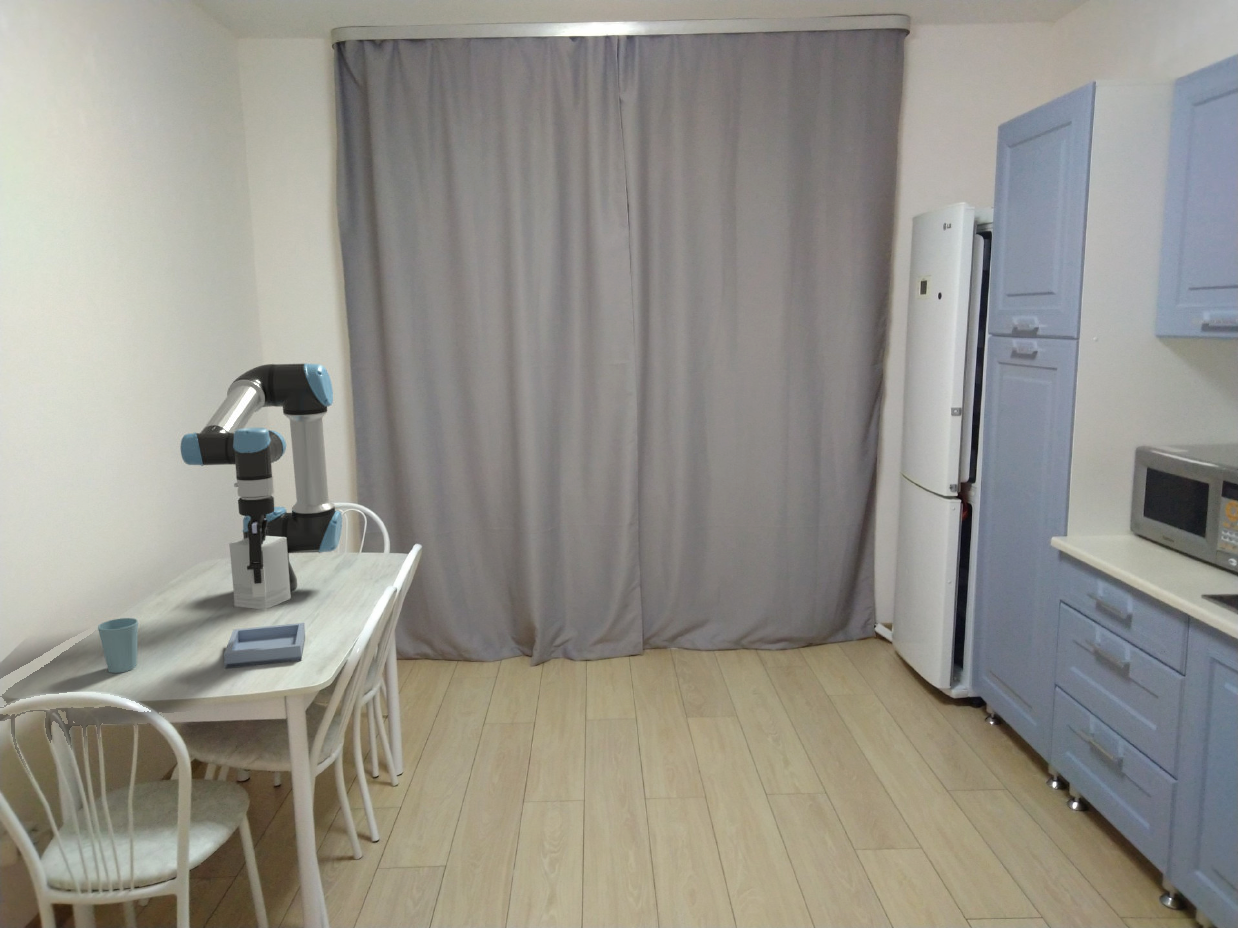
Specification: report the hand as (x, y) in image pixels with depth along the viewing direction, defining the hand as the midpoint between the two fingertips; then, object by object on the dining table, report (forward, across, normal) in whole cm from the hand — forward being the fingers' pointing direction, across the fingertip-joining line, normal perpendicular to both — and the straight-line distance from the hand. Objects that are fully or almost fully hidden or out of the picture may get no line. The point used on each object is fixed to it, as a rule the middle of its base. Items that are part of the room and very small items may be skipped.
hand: (262, 588), depth 202 cm
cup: (+16, +1, -30) cm, 34 cm away
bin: (+15, 0, 0) cm, 15 cm away
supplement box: (+4, 0, 0) cm, 4 cm away
